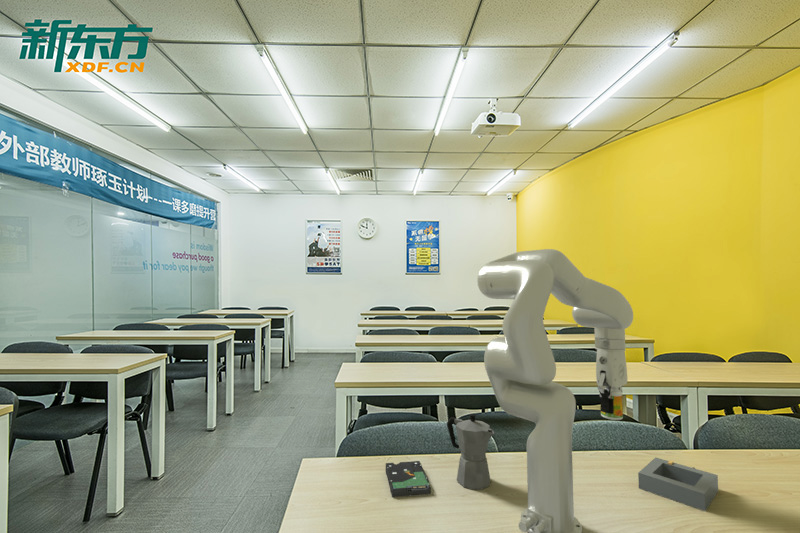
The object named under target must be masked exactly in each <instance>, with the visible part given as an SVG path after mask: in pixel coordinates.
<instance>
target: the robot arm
mask: <svg viewBox="0 0 800 533" xmlns="http://www.w3.org/2000/svg"><path fill="white" fill-rule="evenodd" d="M476 282H477V287H478V289H479V291H480V293H482V295H483V296H484V297H487V298H488V299H495V300H513V301H512V303H511V305H510V306H509V308H508V310H507V311H506V313H505V315H504V317H503V320H502V324H501V325H502V327H501V328H502V332H503V335H504V336H500V337H495V338H493V339H491V340H490V341H489V342H488V343H487V345H486V347H485V350H484V354H483V356H484V358H483V361H484V362H483V364H484V368H485V369H484V370H485V372H486V375H487V377H488V381H489V383H490V385H491V388H492V390H493V393H494V396H495V399H496V401H497V402H498V405H499V407H500V408H501V410H503V412H505V413H506V414H508V415H511V416H513V417H516V418H520V419H523V420H527V421H529V422H533V423H534V424H535V427H534V429H533V430H532V431H531V433H530V434H529V435H528V437H527V440H526V466H527V467H526V468H527V469H526V471H527V472H526V473H527V476H526V477H527V478H526V479H527V480H526V481H527V507H526V508H525V509H523V511H522V512H521V514H520V522H519V523H518V528H519V531H520V532H522V533H526V532H527V533H583V526H582V523H581V522H580V521H579V519H578V518H576V517H575V514H574V513H575V511H574V509H575V508H574V504H575V503H574V476H573V475H574V474H573V472H574V471H573V445H572V444H573V429H574V428H573V427H574V421H575V416H576V415H575V413H576V409H577V404H576V403H577V401H576V398H575V394H574V393H573V391H572V390H570V389H569V388H568V387H567V386H565V385H563V384H561V383H558V382H554V379H555V378H556V374H557V366H556V360H555V357H554V354H553V350H552V348H551V345H550V344H551V343H550V340H549V339H548V335H547V331H546V328H545V324H544V315H545V312H546V311H545V310H546V307H547V305H548V301H549V299H550V296H551V294H552V296H553V297H554V298H555V299H557V300H558V302H560V303H561V304H563V305H566V306H570V307H572V311H571V315H572V318H573V321H574V322H575V323H576V324H577V325H578V326H581V327H586V328H594V329H593V330H594V349H595V350H596V357H595V358H596V361H595V362H596V363H595V379H596V384H597V386H596V387H597V389H598V391H599V400H600V403H599V404H600V406H599V407H600V412H601V411H602V412H605V413H610V414H613V413H614V403H613V399H612V391H613V388H615V389H616V388H618V387H619V388H618V389H619V390H620V391H621V392H622V393H623V386H626V384H628V369H627V368H628V367H627V359H626V353H625V352H626V329H627V328H629V327H630V326H631V325H632V324H633V321H634V311H633V308H632V305H631V304H630V302H629V301H628V300H627V298H626V297H625V296H624V295H623V293H622V292H620V291H619V290H617V289H616V288H614V287H612V286H610V285H607V284H605V283H602V282H600V281H598V280H597V281H596V280H594V279H592V278H589V277H586V276H585V275H584V274H583V273H582V272H581V271H580V270H579V268H577V267H576V266H575V264H574V263H573V262H572V261H571V260H570V259H569V258H568V256H566V255H565V254H564V253H563V252H562V251H559V250H558V249H553V248H545V249H542V248H541V249H535V250H522V251H517V252H514V253H511V254H508V255H506V256H503V257H501V258H497V259H494V260H492V261H489V262H487V263H485V264H484V265H483V266H482V267H481V269H480V270H479V272H478V274H477V281H476ZM605 384H609V386H605ZM605 388H606V389H605ZM607 389H609V393H608V391H607Z"/></svg>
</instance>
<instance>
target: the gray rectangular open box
mask: <svg viewBox="0 0 800 533" xmlns="http://www.w3.org/2000/svg"><path fill="white" fill-rule="evenodd" d="M637 474H638V475H637V476H638V489H640V490H643V491H645V492H649V493H651V494H654V495H657V496H660V497H663V498H666V499H668V500H672V501H675V502H678V503H681V504H683V505H686V506H689V507H692V508H694V509H697V510H700V511H703V512H706V511H707V509H708V508H709V507H710V505H711V503H712V502H713V500H714V498H715V497H716V495H717V494H718V492H719V479H718V478H719V476H718V474H715V473H711V472H707V471H704V470H702V469H698V468H695V467H691V466H687V465H683V464H681V463H676V462H674V460H666V459H663V458H660V457H656V456H655V457H654V458H653V459H652V460H650V462H649V463H647V465H645V466H644V467H643V468H642V469H641V470H639V472H638V473H637Z"/></svg>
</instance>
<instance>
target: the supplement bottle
mask: <svg viewBox="0 0 800 533" xmlns="http://www.w3.org/2000/svg"><path fill="white" fill-rule="evenodd" d="M605 386H609V384H605ZM618 388H619V387H618ZM618 388H616V389H615V388H613V391H612V399H613V403H614V413H613V414H610V413H605V412H602V411H601V410H600V416H601V417H603V418H605V419H608V420H612V421H620V420H621V421H622V420H623V418H624V412H623V411H624V410H623V407H624V406H623V391H622V392H621V391H620V390H619V389H618ZM605 389H606V388H605ZM607 391H608V393H609V389H607Z"/></svg>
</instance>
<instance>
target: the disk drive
mask: <svg viewBox="0 0 800 533" xmlns="http://www.w3.org/2000/svg"><path fill="white" fill-rule="evenodd" d="M385 475H386V479H387V483H388V486H389V490H390V495H391V498H401V497H403V498H404V497H411V496H412V497H414V496H426V495H427V496H428V495H431V492H432V490H431V488H432V487H431V485H430V480H429V479H428V477H427V475H426V472H425V470H424V468H423V465H422V463H421V462H420V460H411V461H400V462H399V463H396V464H395V463H394V462H385Z"/></svg>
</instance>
